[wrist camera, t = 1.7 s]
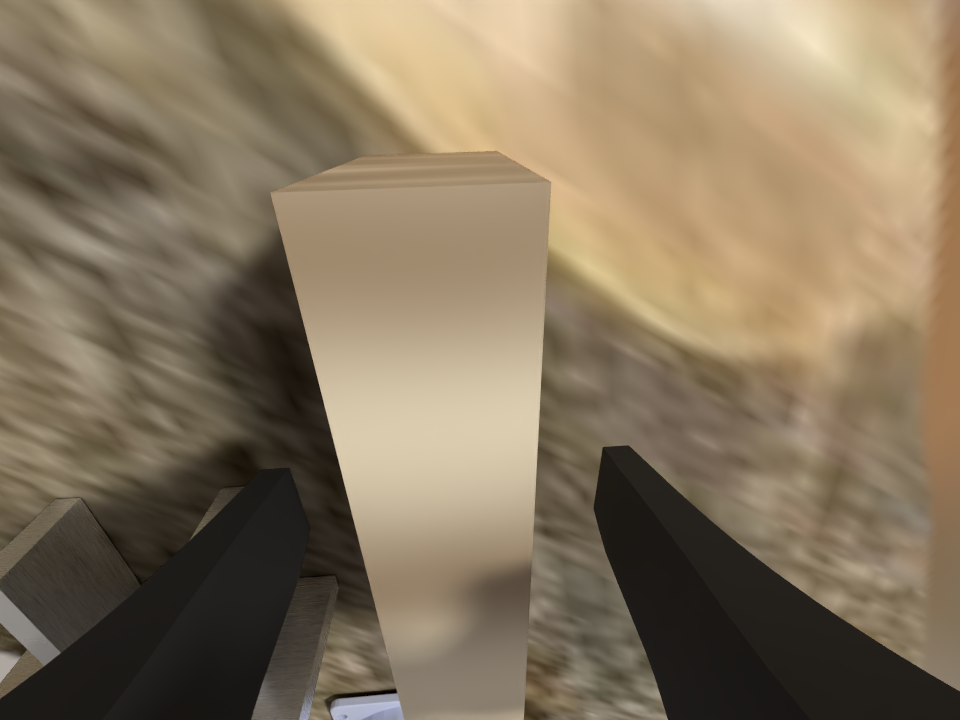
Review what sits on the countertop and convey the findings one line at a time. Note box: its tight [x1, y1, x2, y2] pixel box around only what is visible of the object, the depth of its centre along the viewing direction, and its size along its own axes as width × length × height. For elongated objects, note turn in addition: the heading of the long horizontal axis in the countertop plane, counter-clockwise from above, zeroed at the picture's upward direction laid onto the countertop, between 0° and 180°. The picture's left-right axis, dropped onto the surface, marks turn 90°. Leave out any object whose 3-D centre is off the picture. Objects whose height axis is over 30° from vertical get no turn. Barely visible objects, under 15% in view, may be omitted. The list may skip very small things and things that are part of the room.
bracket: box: [0, 487, 339, 720], centre depth 13 cm, size 6×10×6 cm, turn 92°
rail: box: [271, 151, 551, 720], centre depth 11 cm, size 14×3×6 cm, turn 2°
